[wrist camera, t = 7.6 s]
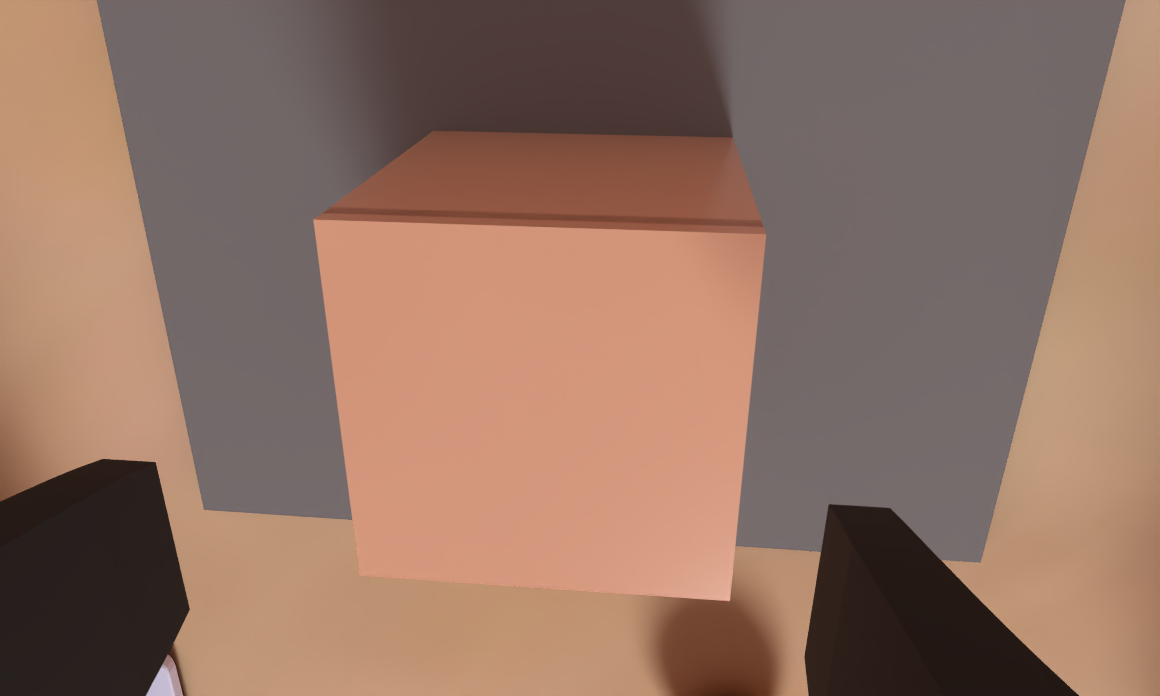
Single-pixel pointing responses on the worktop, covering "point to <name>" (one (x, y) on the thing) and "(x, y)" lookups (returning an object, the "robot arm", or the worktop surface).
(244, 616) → the worktop surface
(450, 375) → the salmon pink cube
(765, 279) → the mat
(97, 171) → the worktop surface
